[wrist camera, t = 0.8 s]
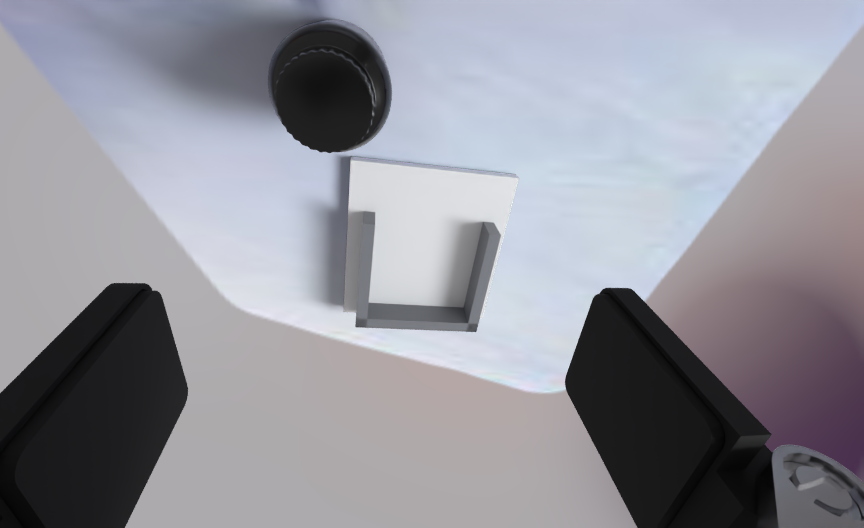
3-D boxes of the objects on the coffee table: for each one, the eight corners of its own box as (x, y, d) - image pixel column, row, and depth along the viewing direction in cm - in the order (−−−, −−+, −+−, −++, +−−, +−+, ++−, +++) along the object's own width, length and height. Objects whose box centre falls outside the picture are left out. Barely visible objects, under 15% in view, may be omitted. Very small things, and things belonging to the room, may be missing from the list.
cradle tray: (351, 156, 33) (348, 170, 30) (515, 174, 36) (528, 189, 33) (344, 305, 41) (341, 328, 38) (480, 312, 43) (487, 334, 40)
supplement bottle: (306, 127, 32) (272, 181, 22) (280, 25, 28) (225, 31, 18) (394, 116, 32) (403, 163, 22) (380, 13, 28) (382, 13, 18)
